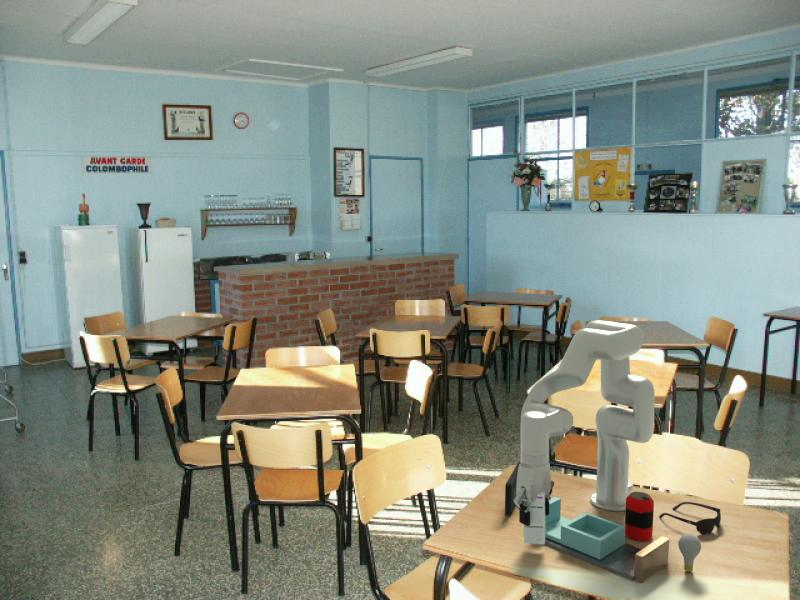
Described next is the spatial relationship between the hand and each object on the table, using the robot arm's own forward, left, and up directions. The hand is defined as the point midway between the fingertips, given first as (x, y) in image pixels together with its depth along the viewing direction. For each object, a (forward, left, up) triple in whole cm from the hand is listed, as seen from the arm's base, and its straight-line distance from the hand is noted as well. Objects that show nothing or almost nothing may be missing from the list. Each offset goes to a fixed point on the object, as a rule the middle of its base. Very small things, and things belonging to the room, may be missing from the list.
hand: (534, 518), depth 197 cm
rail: (-13, +10, -9) cm, 19 cm away
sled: (-13, +5, -8) cm, 16 cm away
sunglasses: (-48, +21, -10) cm, 54 cm away
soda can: (-29, +15, -10) cm, 34 cm away
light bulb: (-20, +34, -10) cm, 41 cm away
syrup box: (0, 0, -6) cm, 6 cm away
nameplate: (-22, -23, -10) cm, 33 cm away
